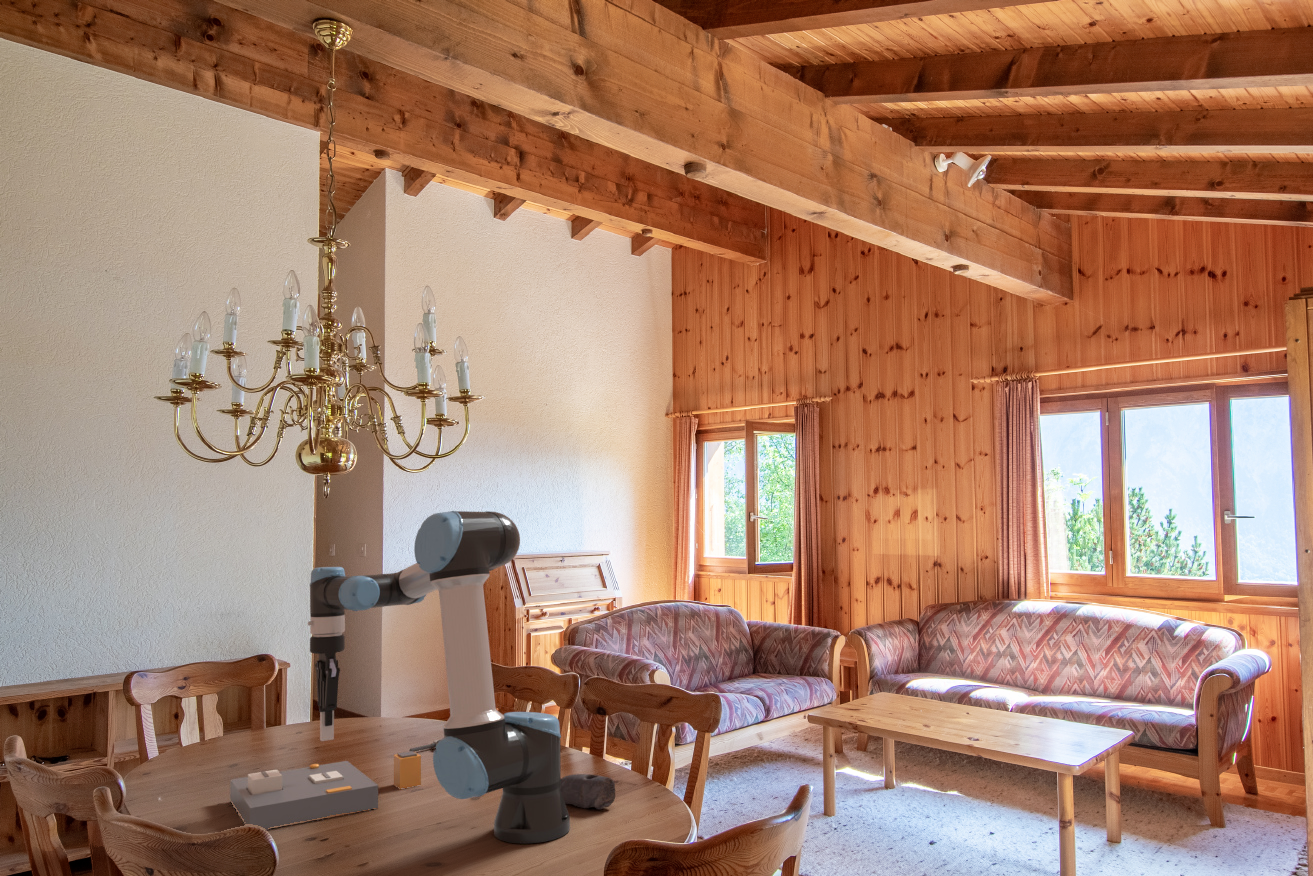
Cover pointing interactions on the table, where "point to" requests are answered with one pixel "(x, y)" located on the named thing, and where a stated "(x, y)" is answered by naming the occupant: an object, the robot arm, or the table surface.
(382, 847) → the table surface
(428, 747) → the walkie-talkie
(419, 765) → the cap
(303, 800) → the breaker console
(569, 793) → the perforated stone tool
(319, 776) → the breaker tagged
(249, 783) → the breaker untagged
